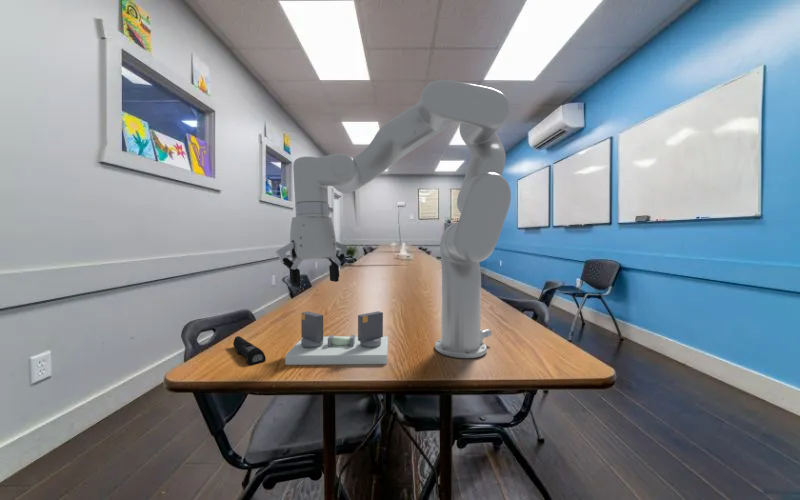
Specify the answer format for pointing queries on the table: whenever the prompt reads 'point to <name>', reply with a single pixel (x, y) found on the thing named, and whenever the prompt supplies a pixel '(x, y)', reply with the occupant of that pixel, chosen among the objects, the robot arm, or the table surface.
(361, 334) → the knob
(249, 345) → the electric trimmer
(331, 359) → the level plate
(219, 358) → the table surface
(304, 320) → the knob
